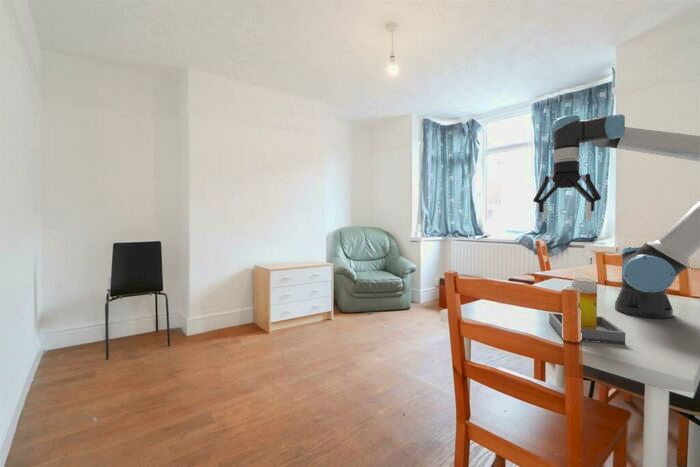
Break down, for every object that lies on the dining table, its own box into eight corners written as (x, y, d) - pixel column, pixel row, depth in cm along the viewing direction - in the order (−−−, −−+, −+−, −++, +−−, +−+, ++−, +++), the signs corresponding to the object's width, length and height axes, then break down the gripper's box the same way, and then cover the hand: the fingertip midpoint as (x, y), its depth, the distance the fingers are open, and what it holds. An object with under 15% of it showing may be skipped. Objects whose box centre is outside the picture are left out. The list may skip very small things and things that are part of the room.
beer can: (601, 332, 93) (602, 281, 92) (583, 333, 92) (584, 282, 91) (583, 325, 99) (584, 277, 98) (566, 326, 98) (566, 278, 97)
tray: (602, 326, 100) (603, 316, 100) (625, 344, 86) (625, 333, 86) (549, 322, 105) (549, 312, 105) (562, 338, 91) (562, 327, 91)
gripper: (604, 160, 113) (603, 220, 114) (525, 165, 122) (524, 221, 123) (613, 156, 106) (612, 220, 107) (528, 162, 115) (528, 222, 116)
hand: (565, 221), depth 115 cm, fingers open, 13 cm apart
